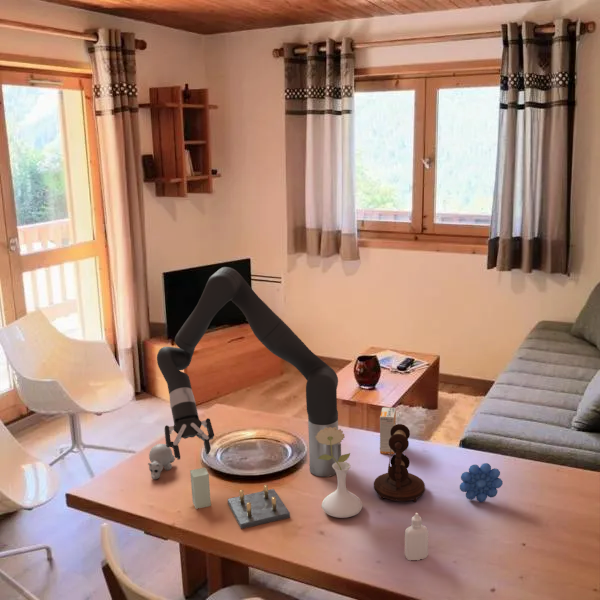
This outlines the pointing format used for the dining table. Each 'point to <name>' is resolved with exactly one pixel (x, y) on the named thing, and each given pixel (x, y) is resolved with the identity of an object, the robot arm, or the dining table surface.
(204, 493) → the block
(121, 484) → the dining table surface
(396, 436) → the wooden spool stand
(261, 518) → the grey gold peg board
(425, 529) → the eye dropper bottle
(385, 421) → the supplement box
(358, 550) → the dining table surface
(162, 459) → the round bodied animal figurine
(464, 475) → the blue ball cluster
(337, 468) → the flower in vase
